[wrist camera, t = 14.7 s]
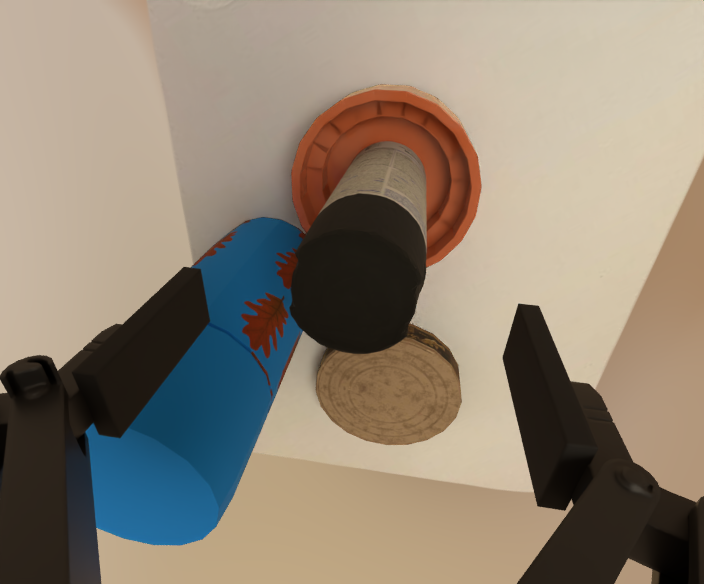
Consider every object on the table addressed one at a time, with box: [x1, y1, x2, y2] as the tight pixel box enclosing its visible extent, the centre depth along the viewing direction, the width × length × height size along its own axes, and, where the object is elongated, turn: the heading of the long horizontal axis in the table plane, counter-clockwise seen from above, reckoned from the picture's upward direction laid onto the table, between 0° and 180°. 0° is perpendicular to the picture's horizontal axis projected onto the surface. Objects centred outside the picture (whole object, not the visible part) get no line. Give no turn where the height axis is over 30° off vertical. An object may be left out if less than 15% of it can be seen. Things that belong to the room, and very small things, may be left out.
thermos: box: [86, 217, 305, 545], centre depth 32 cm, size 11×11×25 cm
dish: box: [291, 84, 481, 267], centre depth 34 cm, size 14×14×5 cm
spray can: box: [289, 141, 427, 354], centre depth 27 cm, size 7×7×20 cm
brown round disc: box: [316, 324, 462, 445], centre depth 46 cm, size 16×16×3 cm
